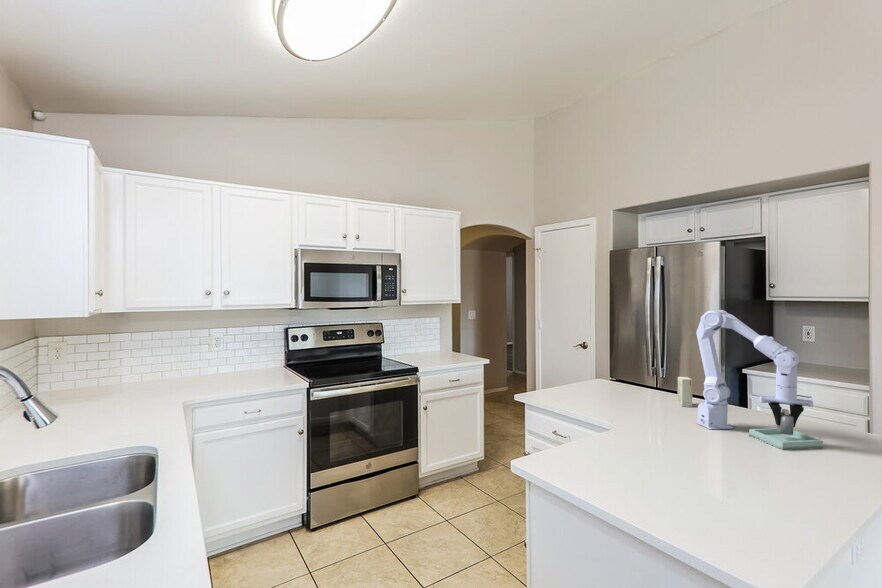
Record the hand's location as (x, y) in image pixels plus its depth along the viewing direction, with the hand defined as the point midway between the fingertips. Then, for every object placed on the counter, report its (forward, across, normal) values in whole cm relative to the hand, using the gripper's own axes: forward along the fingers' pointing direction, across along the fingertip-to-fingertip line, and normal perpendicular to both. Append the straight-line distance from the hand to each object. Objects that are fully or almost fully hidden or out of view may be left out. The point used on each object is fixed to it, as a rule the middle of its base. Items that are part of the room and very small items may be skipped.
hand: (785, 425), depth 149 cm
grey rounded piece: (+2, 0, 0) cm, 2 cm away
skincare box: (+6, +25, -39) cm, 47 cm away
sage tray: (+6, 0, 0) cm, 6 cm away
